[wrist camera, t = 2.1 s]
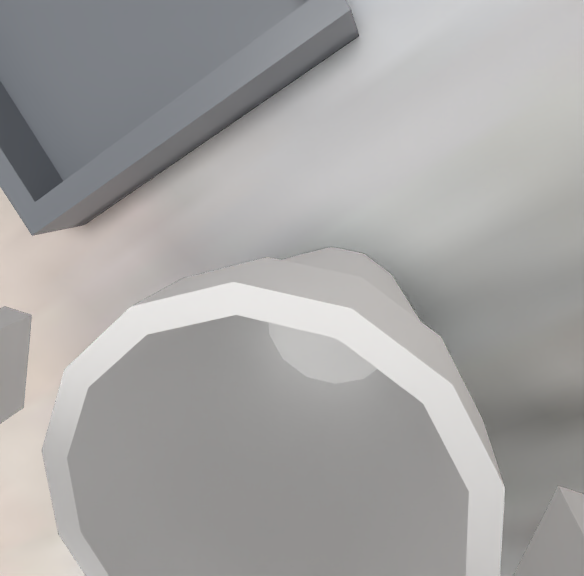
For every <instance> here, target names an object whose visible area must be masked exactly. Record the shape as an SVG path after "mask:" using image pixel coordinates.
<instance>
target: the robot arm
mask: <svg viewBox="0 0 584 576" xmlns="http://www.w3.org/2000/svg"><path fill="white" fill-rule="evenodd" d="M31 319H32V315H31V314H27V313H24V312H21V311H18V310H15V309H12V308H9V307H6V306H4V307H2V308H0V424H1V423H2V422H4V421H5V420H7V419H8V418H9V417H11V416H12V415H14V414H15V413H17V412H18V411H20V410H21V409H23V408H24V399H25V387H26V376H27V365H28V353H29V342H30V331H31ZM513 576H584V494H583V493H579V492H576V491H573V490H570V489H567V488H564V487H561V486H558V487H557V489H556V491H555V493H554V495H553V497H552V499H551V501H550V503H549V505H548V507H547V509H546V511H545V513H544V515H543V517H542V519H541V521H540V523H539V525H538V527H537V529H536V531H535V533H534V535H533V537H532V539H531V541H530V543H529V545H528V547H527V549H526V551H525V553H524V555H523V557H522V559H521V561H520V563H519V565H518V567H517V569H516V571H515V573H514V575H513Z"/></svg>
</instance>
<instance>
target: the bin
mask: <svg viewBox="0 0 584 576" xmlns="http://www.w3.org/2000/svg"><path fill="white" fill-rule="evenodd" d="M358 36H359V34H358V31H357V27H356V24H355V21H354V17H353V14H352V11H351V8H350V6H349V5H348V3H347V1H346V0H0V187H1V188H2V190H3V191H4V193H5V194H6V196H7V198H8V199H9V201H10V202H11V204H12V205H13V207H14V208H15V210H16V211H17V213H18V215H19V216H20V218H21V219H22V221H23V222H24V224H25V225H26V227H27V228H28V230H29V232H30V233H31V235H32V236H33V235H38V234H43V233H47V232H52V231H57V230H62V229H67V228H72V227H77V226H82V225H85V224H86V223H88V222H89V221H90V220H92V219H93V218H95V217H96V216H98V215H99V214H101V213H102V212H104V211H105V210H106V209H108V208H109V207H111V206H112V205H114V204H115V203H117V202H118V201H120V200H121V199H122V198H124V197H125V196H127V195H128V194H130V193H131V192H133V191H134V190H136V189H137V188H138V187H140V186H141V185H143V184H144V183H146V182H147V181H149V180H150V179H152V178H153V177H154V176H156V175H157V174H159V173H160V172H162V171H163V170H165V169H166V168H168V167H169V166H170V165H172V164H173V163H175V162H176V161H178V160H179V159H181V158H182V157H184V156H185V155H186V154H188V153H189V152H191V151H192V150H194V149H195V148H197V147H198V146H200V145H201V144H202V143H204V142H205V141H207V140H208V139H210V138H211V137H213V136H214V135H216V134H217V133H218V132H220V131H221V130H223V129H224V128H226V127H227V126H229V125H230V124H232V123H233V122H234V121H236V120H237V119H239V118H240V117H242V116H243V115H245V114H246V113H248V112H249V111H250V110H252V109H253V108H255V107H256V106H258V105H259V104H261V103H262V102H264V101H265V100H266V99H268V98H269V97H271V96H272V95H274V94H275V93H277V92H278V91H280V90H281V89H283V88H284V87H285V86H287V85H288V84H290V83H291V82H293V81H294V80H296V79H297V78H299V77H300V76H301V75H303V74H304V73H306V72H307V71H309V70H310V69H312V68H313V67H315V66H316V65H317V64H319V63H320V62H322V61H323V60H325V59H326V58H328V57H329V56H331V55H332V54H333V53H335V52H336V51H338V50H339V49H341V48H342V47H344V46H345V45H347V44H348V43H349V42H351V41H352V40H354V39H355V38H357V37H358Z"/></svg>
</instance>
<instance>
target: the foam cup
mask: <svg viewBox="0 0 584 576" xmlns="http://www.w3.org/2000/svg"><path fill="white" fill-rule="evenodd" d="M42 455H43V460H44V465H45V470H46V475H47V480H48V485H49V490H50V495H51V500H52V505H53V510H54V515H55V520H56V525H57V530H58V534H59V536H60V537H61V539H62V541H63V542H64V544H65V545H66V547H67V548H68V550H69V551H70V553H71V554H72V556H73V557H74V559H75V560H76V562H77V563H78V565H79V566H80V568H81V569H82V571H83V573H84V574H85V576H500V566H501V549H502V532H503V516H504V499H505V486H504V483H503V480H502V477H501V474H500V471H499V468H498V465H497V461H496V458H495V455H494V452H493V449H492V446H491V443H490V440H489V437H488V434H487V431H486V428H485V425H484V422H483V419H482V417H481V415H480V413H479V411H478V409H477V407H476V405H475V403H474V401H473V399H472V397H471V395H470V393H469V391H468V389H467V387H466V385H465V383H464V381H463V379H462V377H461V375H460V373H459V372H458V370H457V368H456V366H455V364H454V362H453V360H452V358H451V356H450V354H449V352H448V350H447V348H446V346H445V344H444V342H443V340H442V338H441V336H439V335H438V334H437V333H435V332H434V331H433V330H431V329H430V328H429V327H427V326H426V325H425V324H423V323H422V322H421V321H420V320H419V318H418V316H417V315H416V313H415V312H414V310H413V308H412V307H411V305H410V304H409V302H408V300H407V299H406V297H405V296H404V294H403V292H402V291H401V289H400V287H399V286H398V284H397V283H396V281H395V279H394V278H393V276H392V275H391V274H390V273H389V272H388V271H387V270H385V269H384V268H383V267H381V266H380V265H379V264H377V263H376V262H375V261H373V260H372V259H371V258H369V257H368V256H367V255H365V254H364V253H360V252H355V251H350V250H345V249H340V248H335V247H328V248H324V249H320V250H316V251H312V252H308V253H304V254H300V255H296V256H292V257H289V258H285V259H281V260H280V259H275V258H270V257H265V258H261V259H257V260H253V261H249V262H245V263H241V264H237V265H233V266H229V267H225V268H221V269H217V270H213V271H209V272H205V273H201V274H197V275H193V276H189V277H185V278H182V279H180V280H178V281H177V282H175V283H173V284H171V285H169V286H167V287H166V288H164V289H162V290H160V291H158V292H156V293H155V294H153V295H151V296H149V297H147V298H145V299H144V300H142V301H140V302H138V303H136V304H134V305H133V306H131V307H130V308H128V309H127V310H126V311H125V312H124V313H123V314H122V315H121V316H120V317H119V318H118V319H117V320H116V321H115V322H114V323H113V324H112V325H111V326H109V327H108V328H107V329H106V330H105V331H104V332H103V333H102V334H101V335H100V336H99V337H98V338H97V339H96V340H95V341H94V342H93V343H92V344H90V345H89V346H88V347H87V348H86V349H85V350H84V351H83V352H82V353H81V354H80V355H79V356H78V357H77V358H76V359H75V360H74V361H73V362H71V363H70V364H69V365H68V366H67V367H66V368H65V369H64V373H63V376H62V380H61V383H60V387H59V390H58V394H57V397H56V401H55V405H54V408H53V412H52V415H51V419H50V422H49V426H48V429H47V433H46V437H45V440H44V444H43V447H42Z"/></svg>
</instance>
